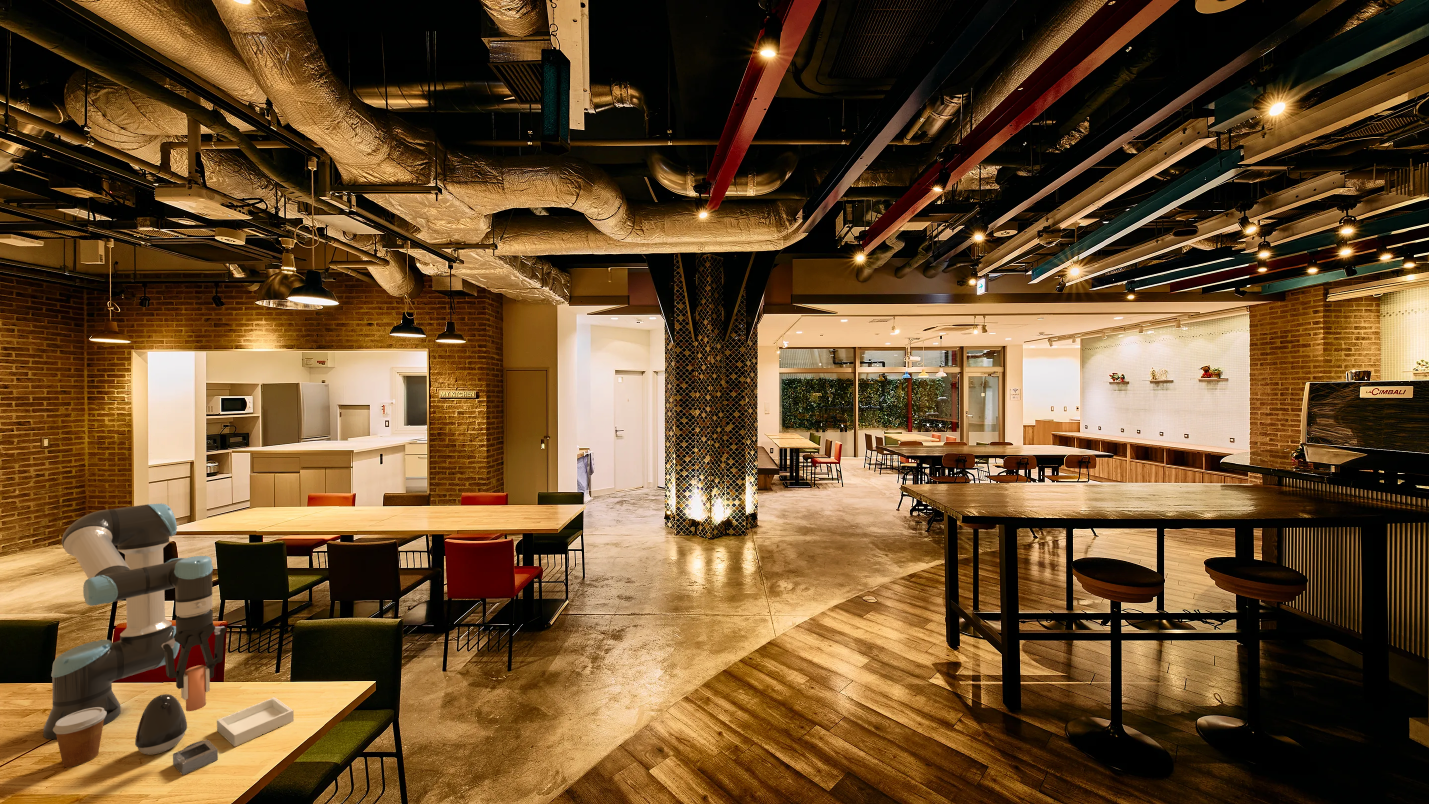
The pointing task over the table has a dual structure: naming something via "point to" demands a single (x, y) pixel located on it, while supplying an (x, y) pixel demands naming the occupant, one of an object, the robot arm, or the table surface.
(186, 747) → the pin pad
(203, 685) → the pin
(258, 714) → the dock cradle
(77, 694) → the robot arm
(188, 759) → the pin mount
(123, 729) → the table surface
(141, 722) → the dark piece
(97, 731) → the disposable coffee cup
